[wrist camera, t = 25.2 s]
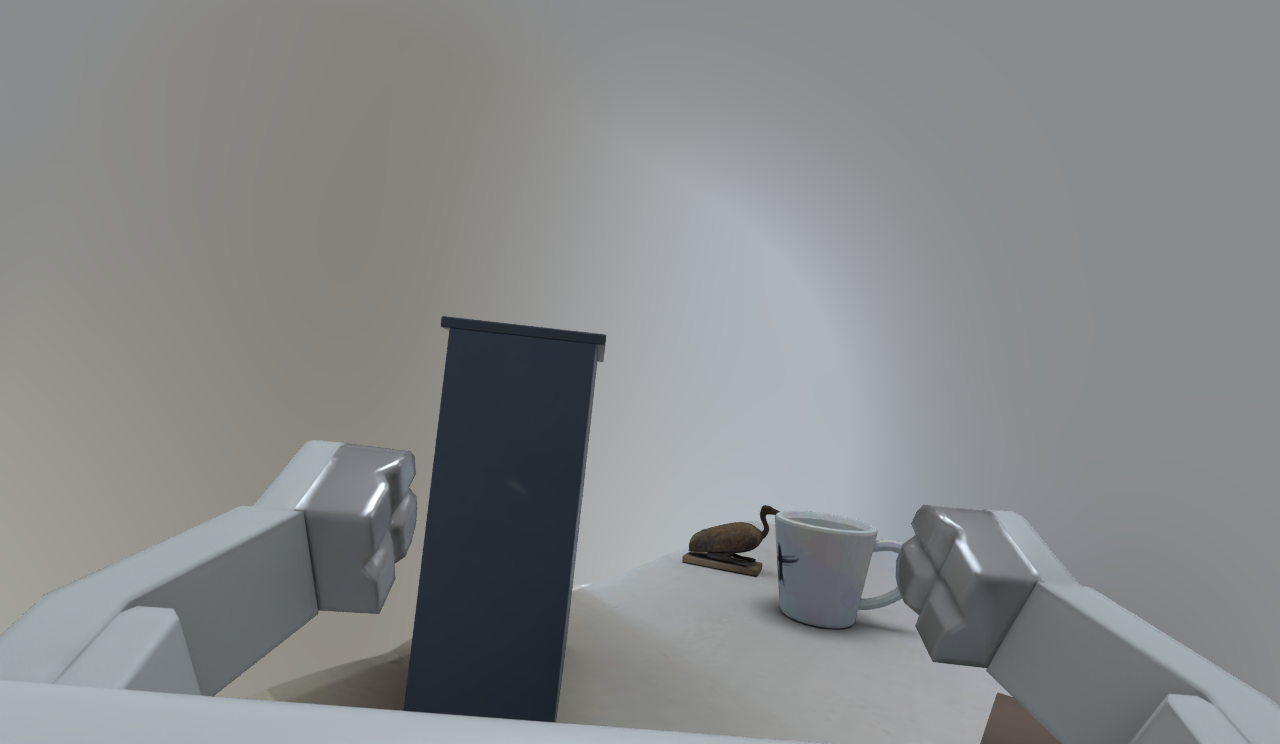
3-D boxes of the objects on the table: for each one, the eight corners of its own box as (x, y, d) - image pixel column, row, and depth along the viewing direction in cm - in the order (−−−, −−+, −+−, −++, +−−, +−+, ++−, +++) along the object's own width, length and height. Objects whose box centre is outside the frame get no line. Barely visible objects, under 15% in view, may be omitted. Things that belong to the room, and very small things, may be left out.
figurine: (794, 575, 82) (800, 508, 82) (790, 583, 78) (797, 513, 78) (690, 555, 87) (697, 492, 87) (681, 562, 83) (688, 495, 83)
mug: (767, 593, 72) (776, 506, 73) (905, 617, 69) (913, 525, 69) (764, 622, 62) (774, 521, 63) (926, 652, 59) (935, 544, 59)
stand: (557, 778, 34) (606, 334, 35) (387, 766, 33) (441, 315, 34) (572, 645, 52) (604, 354, 53) (461, 636, 51) (495, 343, 52)
